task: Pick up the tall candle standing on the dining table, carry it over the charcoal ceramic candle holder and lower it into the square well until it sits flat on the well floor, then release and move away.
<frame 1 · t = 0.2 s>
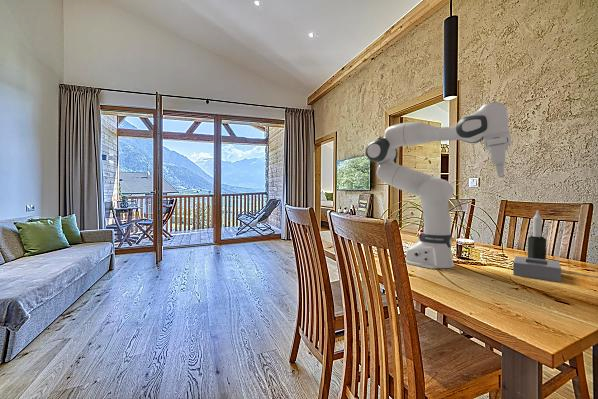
hand: (501, 176, 113), 39 cm above the table, tool pointing down, fingers open, 8 cm apart
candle: (536, 267, 125), on the table
holder: (536, 274, 114), on the table
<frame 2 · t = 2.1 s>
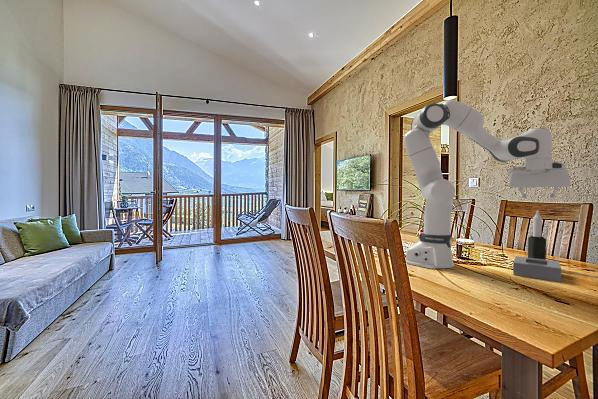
hand: (538, 197, 124), 30 cm above the table, tool pointing down, fingers open, 8 cm apart
nothing on the table moved.
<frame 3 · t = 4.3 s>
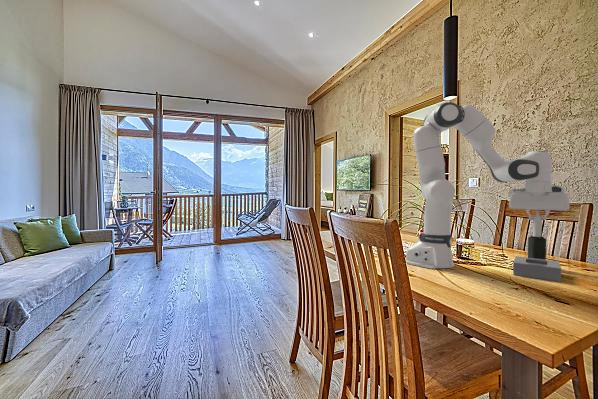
hand: (537, 220, 124), 21 cm above the table, tool pointing down, fingers closed on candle, 3 cm apart
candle: (536, 267, 125), on the table, touching gripper
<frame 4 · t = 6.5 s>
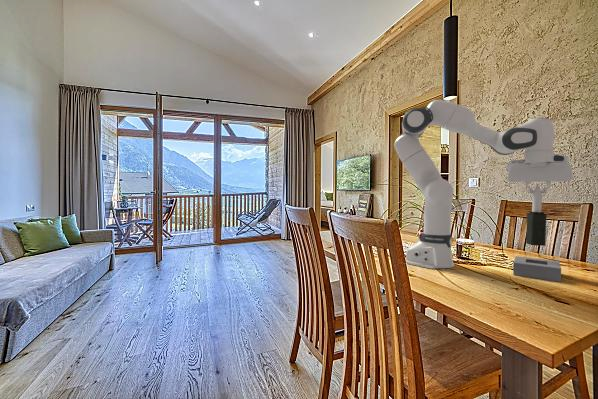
hand: (537, 192, 115), 33 cm above the table, tool pointing down, fingers closed on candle, 3 cm apart
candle: (535, 244, 116), point 11 cm above the table, touching gripper
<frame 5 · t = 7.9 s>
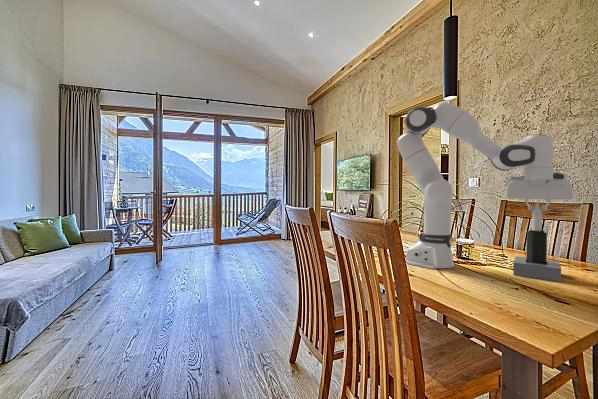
hand: (537, 210, 113), 26 cm above the table, tool pointing down, fingers closed on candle, 3 cm apart
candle: (536, 264, 114), point 4 cm above the table, touching gripper
when the fingers open (23 cm above the table, at t = 9.0 s): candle stays where it is, resting on holder.
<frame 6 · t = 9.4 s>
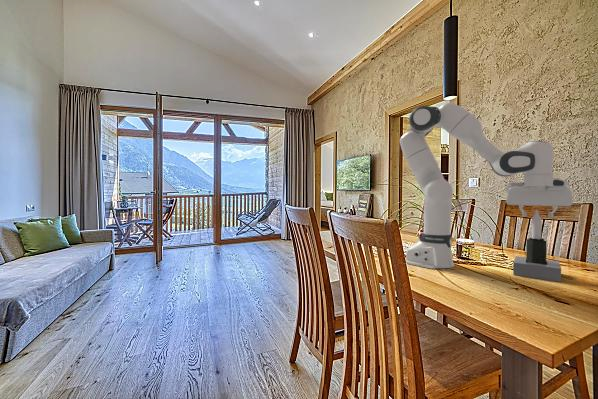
hand: (537, 216, 113), 23 cm above the table, tool pointing down, fingers open, 7 cm apart
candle: (535, 272, 114), point 1 cm above the table, touching holder
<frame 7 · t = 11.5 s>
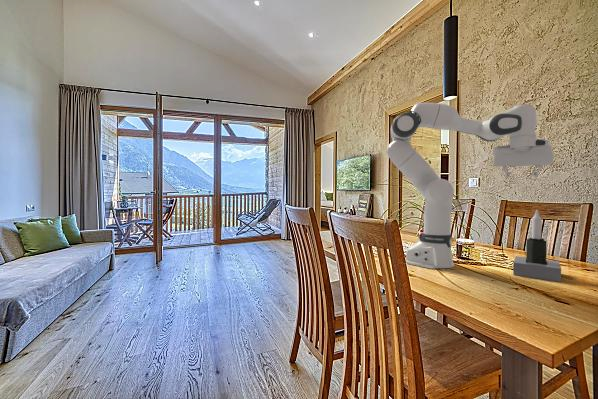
hand: (521, 176, 121), 40 cm above the table, tool pointing down, fingers open, 8 cm apart
nothing on the table moved.
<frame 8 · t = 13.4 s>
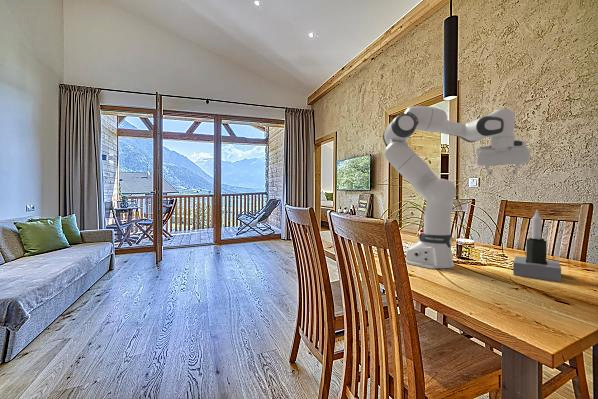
hand: (502, 174, 132), 41 cm above the table, tool pointing down, fingers open, 8 cm apart
nothing on the table moved.
at the end: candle 0.2 cm off-centre on the holder, point 0.8 cm above the holder's base; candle tilted 0°; the gripper is holding nothing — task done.
